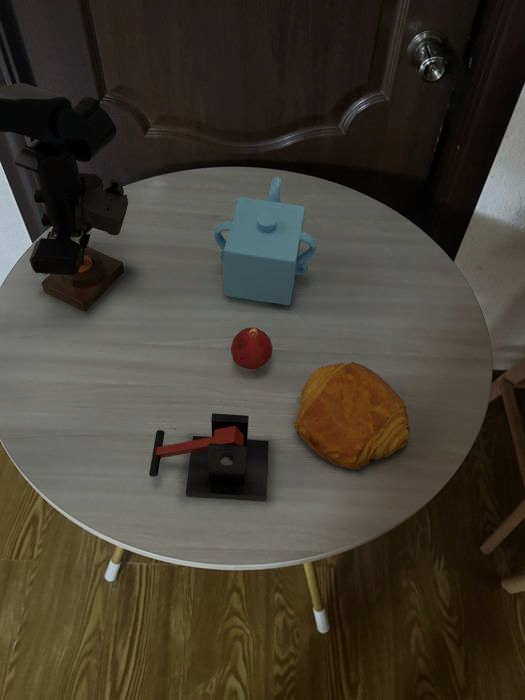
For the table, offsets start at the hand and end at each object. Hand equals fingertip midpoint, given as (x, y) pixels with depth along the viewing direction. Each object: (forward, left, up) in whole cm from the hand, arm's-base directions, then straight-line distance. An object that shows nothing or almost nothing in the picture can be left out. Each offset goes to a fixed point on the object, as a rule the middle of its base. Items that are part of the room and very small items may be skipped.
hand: (80, 263), depth 95 cm
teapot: (+29, -1, -4) cm, 29 cm away
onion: (+23, -20, -4) cm, 31 cm away
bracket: (+17, -36, -4) cm, 40 cm away
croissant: (+34, -32, -4) cm, 47 cm away
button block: (0, 0, -4) cm, 4 cm away
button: (0, 0, -2) cm, 2 cm away
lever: (+14, -35, +1) cm, 38 cm away
